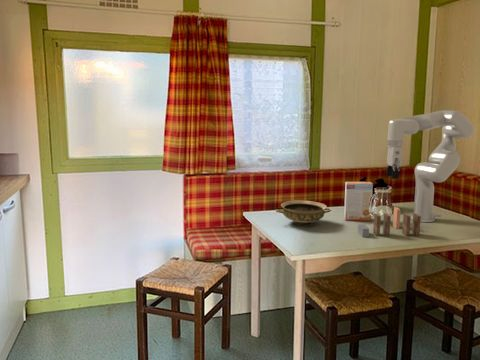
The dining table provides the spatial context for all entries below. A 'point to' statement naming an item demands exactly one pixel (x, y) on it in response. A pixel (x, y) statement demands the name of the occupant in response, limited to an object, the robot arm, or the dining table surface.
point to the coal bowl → (379, 184)
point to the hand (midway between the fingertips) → (392, 177)
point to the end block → (363, 230)
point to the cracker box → (357, 201)
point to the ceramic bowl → (303, 211)
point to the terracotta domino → (396, 217)
